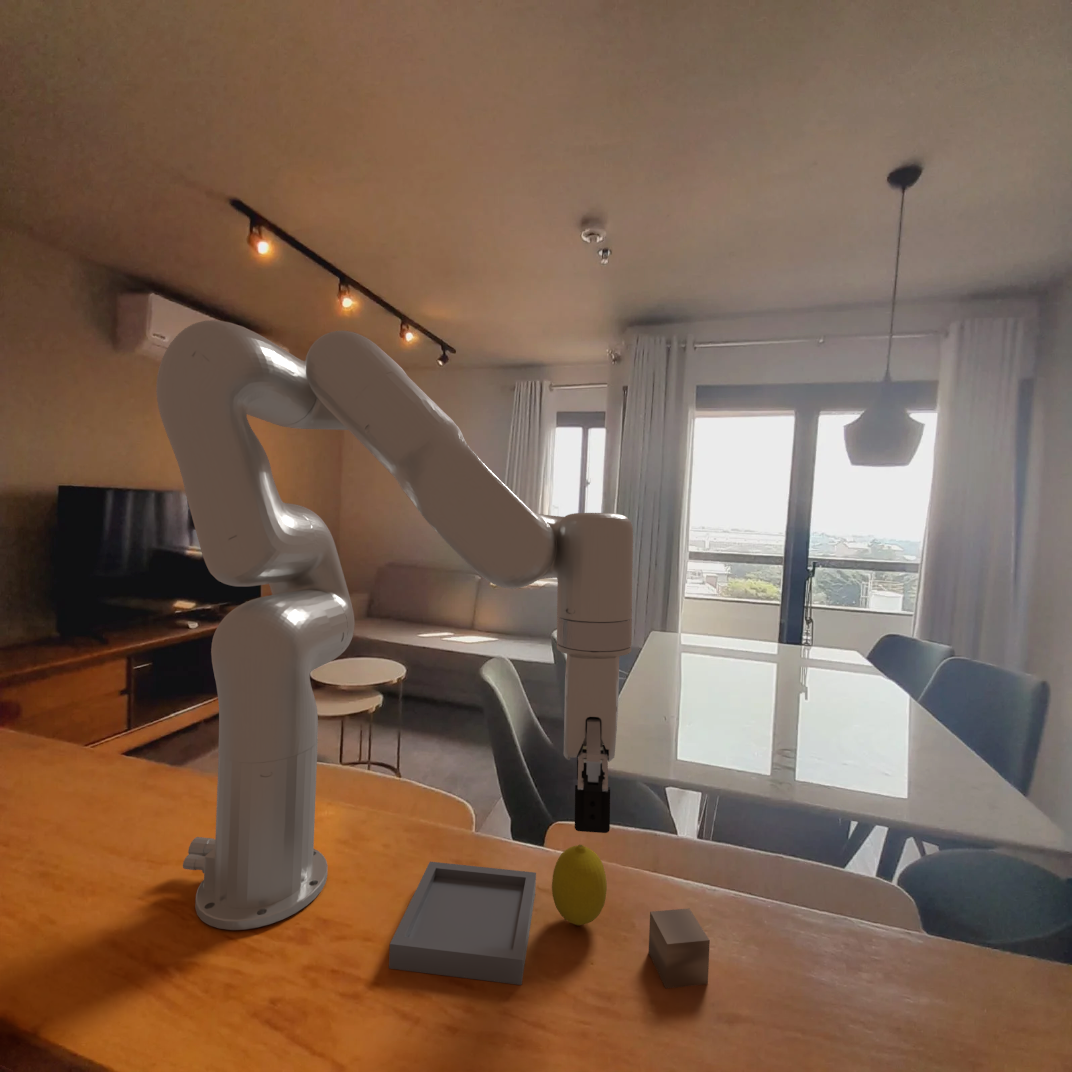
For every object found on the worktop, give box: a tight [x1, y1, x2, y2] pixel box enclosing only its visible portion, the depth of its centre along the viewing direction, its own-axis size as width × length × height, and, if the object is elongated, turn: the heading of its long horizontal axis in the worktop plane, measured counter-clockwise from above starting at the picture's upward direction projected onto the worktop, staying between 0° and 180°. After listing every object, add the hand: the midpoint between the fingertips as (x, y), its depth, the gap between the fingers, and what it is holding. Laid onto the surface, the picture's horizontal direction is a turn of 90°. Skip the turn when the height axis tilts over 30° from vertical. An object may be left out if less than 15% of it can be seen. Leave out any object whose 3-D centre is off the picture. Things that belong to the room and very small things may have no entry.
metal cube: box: [648, 908, 711, 989], centre depth 49 cm, size 4×4×4 cm
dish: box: [388, 861, 537, 986], centre depth 53 cm, size 12×12×2 cm
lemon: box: [551, 844, 608, 927], centre depth 54 cm, size 6×6×8 cm
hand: (591, 803), depth 53 cm, fingers open, 9 cm apart
